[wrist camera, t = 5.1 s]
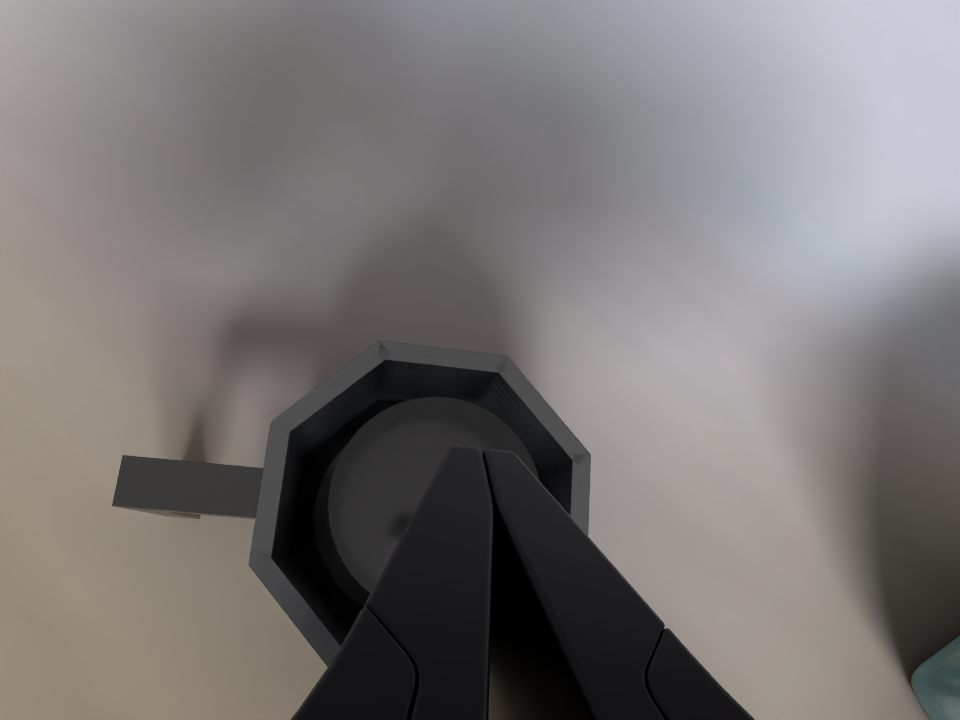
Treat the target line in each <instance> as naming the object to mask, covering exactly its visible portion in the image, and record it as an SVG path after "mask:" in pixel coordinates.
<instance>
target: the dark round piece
mask: <svg viewBox="0 0 960 720" xmlns="http://www.w3.org/2000/svg"><path fill="white" fill-rule="evenodd" d="M451 446H465V447H475V448H479V449H480V450H481V451H482V452H483V451H484V450H485V449H495V450H505V451H512V452H514V453H515V454H516V455H517V456H518V457H519V458H520V460H521V461H522V462H523V463H524V464H525V465H526V466H527V468H528V469H529V470H530V471H531V472H532V473H533V474H534V476H535V477H536V478H537V479H538V480H539V477H538V474H537V470H536V468H535V465H534V463H533V460H532V458H531V456H530V454H529V452H528V450H527V449H526V447H525V445H524V444H523V442H522V441H521V440H520V438H519V437H518V436H517V434H516V433H515V432H514V431H513V430H512V429H511V428H510V427H509V426H508V425H507V424H506V423H505V422H503V421H502V420H501V419H500V418H498V417H497V416H496V415H494V414H492V413H491V412H489V411H488V410H486V409H484V408H482V407H480V406H478V405H475V404H473V403H470V402H467V401H464V400H460V399H454V398H449V397H423V398H417V399H412V400H408V401H405V402H402V403H399V404H396V405H394V406H392V407H390V408H388V409H386V410H384V411H382V412H380V413H379V414H377V415H376V416H375V417H373V418H372V419H370V420H369V421H368V422H367V423H366V424H365V425H363V426H362V427H361V428H360V429H359V430H358V432H357V433H356V434H355V435H354V436H353V437H352V438H351V440H350V441H349V443H348V444H347V445H346V446H345V447H344V448H343V449H342V450H341V451H340V452H339V453H338V455H337V456H336V457H335V458H334V460H333V461H332V463H331V464H330V466H329V467H328V469H327V471H326V473H325V475H324V477H323V479H322V482H321V484H320V487H319V490H318V494H317V498H316V503H315V513H314V527H315V536H316V541H317V546H318V549H319V552H320V555H321V558H322V560H323V562H324V564H325V566H326V568H327V570H328V572H329V574H330V575H331V576H332V578H333V579H334V581H335V582H336V583H337V584H338V586H339V587H340V588H341V589H342V590H343V591H344V592H345V593H346V594H347V595H348V596H350V597H351V598H352V599H353V600H354V601H356V602H358V603H359V604H361V605H362V606H364V605H365V603H366V601H367V599H368V597H369V595H370V594H371V592H372V590H373V588H374V586H375V584H376V582H377V581H378V579H379V577H380V575H381V573H382V571H383V570H384V568H385V566H386V564H387V562H388V560H389V559H390V557H391V555H392V553H393V551H394V549H395V547H396V546H397V544H398V542H399V540H400V538H401V536H402V535H403V533H404V531H405V529H406V527H407V525H408V523H409V522H410V520H411V518H412V516H413V514H414V512H415V511H416V509H417V507H418V505H419V503H420V501H421V500H422V498H423V496H424V494H425V492H426V490H427V488H428V487H429V485H430V483H431V481H432V479H433V477H434V476H435V474H436V472H437V470H438V468H439V466H440V464H441V463H442V461H443V459H444V457H445V455H446V453H447V452H448V450H449V448H450V447H451Z"/></svg>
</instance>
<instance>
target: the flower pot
mask: <svg viewBox="0 0 960 720" xmlns="http://www.w3.org/2000/svg"><path fill="white" fill-rule="evenodd" d="M911 684H912V688H913V691H914V693H915V695H916V697H917V699H918V701H919V703H920V704H921V706H922V707H923V709H924V711H925V712H926V714H927V716H928V717H929V719H930V720H960V636H958V637H957V638H956V639H954V640H953V641H952V642H950V643H949V644H948V645H946V646H945V647H944V648H942V649H941V650H940V651H938V652H937V653H936V654H934V655H933V656H932V657H930V658H929V659H928V660H926V661H925V662H924V663H922V664H921V665H920V666H919V667H918V668H917V669H916V670H915V672H914V673H913V675H912V678H911Z"/></svg>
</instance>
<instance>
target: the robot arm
mask: <svg viewBox="0 0 960 720" xmlns="http://www.w3.org/2000/svg"><path fill="white" fill-rule="evenodd" d="M664 627H665V625H664V623H663V621H662V620H661V619H660V618H659V617H658V616H657V615H656V613H655V612H654V611H653V610H652V609H651V608H650V607H649V605H648V604H647V603H646V602H645V601H644V600H643V599H642V597H641V596H640V595H639V594H638V593H637V592H636V591H635V589H634V588H633V587H632V586H631V585H630V584H629V583H628V581H627V580H626V579H625V578H624V577H623V576H622V575H621V574H620V572H619V571H618V570H617V569H616V568H615V567H614V566H613V564H612V563H611V562H610V561H609V560H608V559H607V558H606V556H605V555H604V554H603V553H602V552H601V551H600V550H599V548H598V547H597V546H596V545H595V544H594V543H593V542H592V540H591V539H590V538H589V537H588V536H587V535H586V534H585V532H584V531H583V530H582V529H581V528H580V527H579V526H578V525H577V523H576V522H575V521H574V520H573V519H572V518H571V517H570V515H569V514H568V513H567V512H566V511H565V510H564V509H563V507H562V506H561V505H560V504H559V503H558V502H557V501H556V499H555V498H554V497H553V496H552V495H551V494H550V493H549V491H548V490H547V489H546V488H545V487H544V486H543V485H542V484H541V482H540V481H539V480H538V479H537V478H536V477H535V476H534V474H533V473H532V472H531V471H530V470H529V469H528V468H527V466H526V465H525V464H524V463H523V462H522V461H521V460H520V458H519V457H518V456H517V455H516V454H515V453H514V452H512V451H505V450H495V449H485V450H484V451H483V452H482V451H481V450H480V449H479V448H475V447H465V446H451V447H450V448H449V450H448V452H447V453H446V455H445V457H444V459H443V461H442V463H441V464H440V466H439V468H438V470H437V472H436V474H435V476H434V477H433V479H432V481H431V483H430V485H429V487H428V488H427V490H426V492H425V494H424V496H423V498H422V500H421V501H420V503H419V505H418V507H417V509H416V511H415V512H414V514H413V516H412V518H411V520H410V522H409V523H408V525H407V527H406V529H405V531H404V533H403V535H402V536H401V538H400V540H399V542H398V544H397V546H396V547H395V549H394V551H393V553H392V555H391V557H390V559H389V560H388V562H387V564H386V566H385V568H384V570H383V571H382V573H381V575H380V577H379V579H378V581H377V582H376V584H375V586H374V588H373V590H372V592H371V594H370V595H369V597H368V599H367V601H366V603H365V605H364V608H363V609H362V610H361V611H360V613H359V615H358V617H357V619H356V620H355V622H354V624H353V626H352V628H351V630H350V631H349V633H348V635H347V636H346V638H345V640H344V642H343V643H342V645H341V647H340V648H339V650H338V652H337V653H336V655H335V657H334V658H333V660H332V662H331V663H330V665H329V667H328V668H327V670H326V671H325V672H324V674H323V675H322V677H321V678H320V680H319V681H318V682H317V684H316V685H315V687H314V688H313V690H312V691H311V692H310V694H309V695H308V697H307V698H306V700H305V701H304V702H303V704H302V705H301V707H300V708H299V709H298V711H297V712H296V713H295V715H294V716H293V717H292V719H291V720H755V719H754V718H753V717H752V716H751V715H750V714H749V713H748V712H747V711H746V710H745V709H744V708H743V707H742V706H741V705H740V704H739V703H738V702H737V701H736V700H735V699H734V698H733V697H732V696H731V695H730V694H729V693H728V692H727V691H726V690H725V689H724V688H723V687H722V686H721V685H720V684H719V683H718V682H717V681H716V680H715V679H714V678H713V677H712V676H711V675H710V673H709V672H708V671H707V670H706V669H705V668H704V667H703V666H702V665H701V664H700V663H699V662H698V660H697V659H696V658H695V657H694V656H693V655H692V654H691V653H690V652H689V651H688V649H687V648H686V647H685V646H684V645H683V644H682V643H681V642H680V640H679V639H678V638H677V637H676V636H675V635H674V634H673V632H672V631H671V630H670V629H668V628H665V629H664ZM663 629H664V630H663Z"/></svg>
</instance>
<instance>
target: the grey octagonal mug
mask: <svg viewBox="0 0 960 720" xmlns="http://www.w3.org/2000/svg"><path fill="white" fill-rule="evenodd" d="M423 397H449V398H454V399H460V400H464V401H467V402H470V403H473V404H475V405H478V406H480V407H482V408H484V409H486V410H488V411H489V412H491V413H492V414H494V415H496V416H497V417H498V418H500V419H501V420H502V421H503V422H505V423H506V424H507V425H508V426H509V427H510V428H511V429H512V430H513V431H514V432H515V433H516V434H517V436H518V437H519V438H520V440H521V441H522V442H523V444H524V445H525V447H526V449H527V450H528V452H529V454H530V456H531V458H532V460H533V463H534V465H535V468H536V470H537V474H538V477H539V481H540V482H541V484H542V485H543V486H544V487H545V488H546V489H547V490H548V491H549V493H550V494H551V495H552V496H553V497H554V498H555V499H556V501H557V502H558V503H559V504H560V505H561V506H562V507H563V509H564V510H565V511H566V512H567V513H568V514H569V515H570V517H571V518H572V519H573V520H574V521H575V522H576V523H577V525H578V526H579V527H580V528H581V529H582V530H583V531H584V532H585V534H586V535H587V536H588V524H589V493H590V463H591V455H590V453H589V452H588V451H587V449H586V448H585V447H584V446H583V445H582V443H581V442H580V441H579V440H578V439H577V438H576V436H575V435H574V434H573V433H572V432H571V430H570V429H569V428H568V427H567V426H566V425H565V423H564V422H563V421H562V420H561V419H560V417H559V416H558V415H557V414H556V413H555V412H554V410H553V409H552V408H551V407H550V406H549V405H548V403H547V402H546V401H545V400H544V399H543V397H542V396H541V395H540V394H539V393H538V392H537V390H536V389H535V388H534V387H533V386H532V384H531V383H530V382H529V381H528V380H527V379H526V377H525V376H524V375H523V374H522V373H521V371H520V370H519V369H518V368H517V367H516V366H515V364H514V363H513V362H512V361H511V360H510V358H509V357H508V356H503V355H495V354H487V353H478V352H470V351H462V350H454V349H445V348H437V347H429V346H420V345H412V344H404V343H395V342H387V341H378V342H377V343H376V344H374V345H373V346H372V347H370V348H369V349H368V350H366V351H365V352H364V353H362V354H361V355H360V356H358V357H357V358H356V359H354V360H353V361H352V362H350V363H349V364H348V365H346V366H345V367H344V368H342V369H341V370H340V371H338V372H337V373H336V374H334V375H333V376H332V377H330V378H329V379H328V380H326V381H325V382H324V383H322V384H321V385H319V386H318V387H317V388H315V389H314V390H313V391H311V392H310V393H309V394H307V395H306V396H305V397H303V398H302V399H301V400H299V401H298V402H297V403H295V404H294V405H293V406H291V407H290V408H289V409H287V410H286V411H285V412H283V413H282V414H281V415H279V416H278V417H277V418H275V419H274V420H273V421H271V424H270V430H269V437H268V443H267V450H266V456H265V462H264V468H255V467H244V466H233V465H223V464H212V463H201V462H190V461H179V460H169V459H158V458H147V457H136V456H125V455H123V456H122V461H121V466H120V471H119V475H118V480H117V485H116V490H115V494H114V499H113V504H112V506H115V507H121V508H126V509H132V510H137V511H142V512H148V513H153V514H159V515H164V516H173V517H185V518H198V519H200V514H201V515H213V516H225V517H237V518H249V519H256V520H255V527H254V533H253V539H252V546H251V552H250V559H249V566H250V568H251V569H252V570H253V572H254V573H255V574H256V575H257V577H258V578H259V579H260V580H261V582H262V583H263V584H264V586H265V587H266V588H267V589H268V591H269V592H270V593H271V595H272V596H273V597H274V598H275V600H276V601H277V602H278V604H279V605H280V606H281V607H282V609H283V610H284V611H285V613H286V614H287V615H288V616H289V618H290V619H291V620H292V622H293V623H294V624H295V625H296V627H297V628H298V629H299V631H300V632H301V633H302V634H303V636H304V637H305V638H306V639H307V641H308V642H309V643H310V645H311V646H312V647H313V648H314V650H315V651H316V652H317V654H318V655H319V656H320V657H321V659H322V660H323V661H324V663H325V664H326V665H327V666H328V667H329V665H330V663H331V662H332V660H333V658H334V657H335V655H336V653H337V652H338V650H339V648H340V647H341V645H342V643H343V642H344V640H345V638H346V636H347V635H348V633H349V631H350V630H351V628H352V626H353V624H354V622H355V620H356V619H357V617H358V615H359V613H360V611H361V610H362V609H363V608H364V606H362V605H361V604H359V603H358V602H356V601H354V600H353V599H352V598H351V597H350V596H348V595H347V594H346V593H345V592H344V591H343V590H342V589H341V588H340V587H339V586H338V584H337V583H336V582H335V581H334V579H333V578H332V576H331V575H330V574H329V572H328V570H327V568H326V566H325V564H324V562H323V560H322V558H321V555H320V552H319V549H318V546H317V541H316V536H315V527H314V513H315V503H316V498H317V494H318V490H319V487H320V484H321V482H322V479H323V477H324V475H325V473H326V471H327V469H328V467H329V466H330V464H331V463H332V461H333V460H334V458H335V457H336V456H337V455H338V453H339V452H340V451H341V450H342V449H343V448H344V447H345V446H346V445H347V444H348V443H349V441H350V440H351V438H352V437H353V436H354V435H355V434H356V433H357V432H358V430H359V429H360V428H361V427H362V426H363V425H365V424H366V423H367V422H368V421H369V420H370V419H372V418H373V417H375V416H376V415H377V414H379V413H380V412H382V411H384V410H386V409H388V408H390V407H392V406H394V405H396V404H399V403H402V402H405V401H408V400H412V399H417V398H423Z"/></svg>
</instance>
